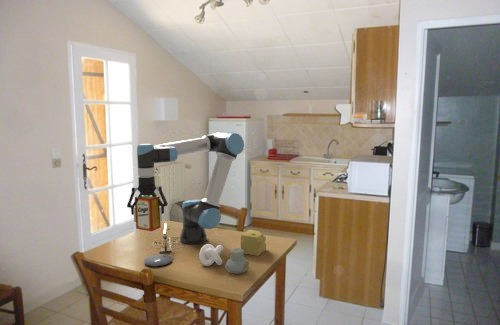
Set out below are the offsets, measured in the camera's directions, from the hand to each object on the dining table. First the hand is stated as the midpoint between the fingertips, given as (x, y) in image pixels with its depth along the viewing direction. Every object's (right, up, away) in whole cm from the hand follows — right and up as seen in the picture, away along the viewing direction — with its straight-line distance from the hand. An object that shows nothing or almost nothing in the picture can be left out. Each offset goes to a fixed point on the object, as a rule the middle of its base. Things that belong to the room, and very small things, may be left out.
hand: (148, 220), depth 178 cm
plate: (+5, -20, 0) cm, 21 cm away
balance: (+5, -18, +14) cm, 24 cm away
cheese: (+51, -19, +14) cm, 56 cm away
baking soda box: (0, -4, 0) cm, 4 cm away
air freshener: (+44, -22, -11) cm, 50 cm away
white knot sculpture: (+32, -21, -3) cm, 38 cm away
